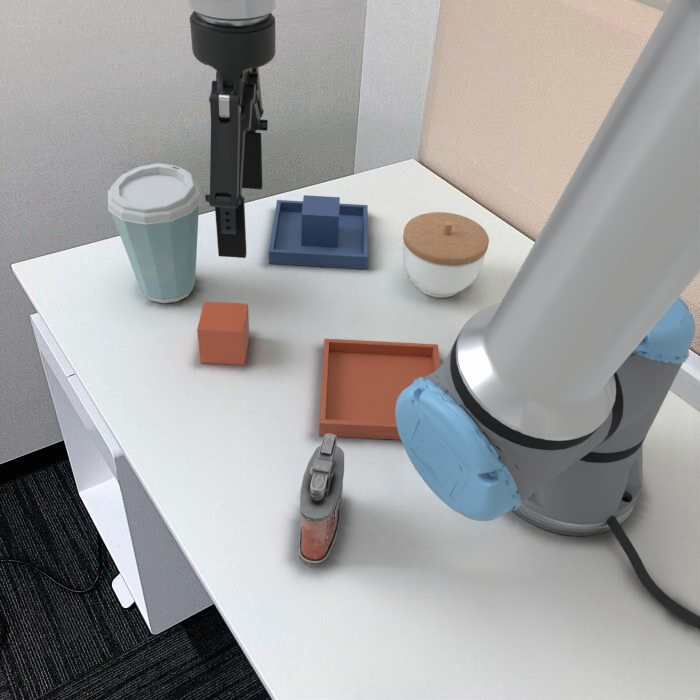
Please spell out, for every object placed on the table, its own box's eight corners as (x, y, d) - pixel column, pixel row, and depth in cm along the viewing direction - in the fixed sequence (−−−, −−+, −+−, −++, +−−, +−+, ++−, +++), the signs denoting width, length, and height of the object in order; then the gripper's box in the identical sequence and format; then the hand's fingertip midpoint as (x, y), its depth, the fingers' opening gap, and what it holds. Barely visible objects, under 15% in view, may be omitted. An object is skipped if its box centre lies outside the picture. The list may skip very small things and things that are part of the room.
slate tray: (367, 269, 99) (368, 256, 98) (268, 263, 99) (268, 251, 97) (366, 216, 109) (367, 204, 108) (277, 211, 109) (277, 199, 107)
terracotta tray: (445, 442, 77) (447, 429, 76) (318, 436, 77) (319, 423, 75) (435, 356, 87) (437, 344, 86) (323, 351, 87) (324, 338, 85)
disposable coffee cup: (172, 325, 88) (157, 217, 78) (104, 294, 92) (82, 187, 82) (226, 281, 95) (218, 177, 85) (161, 254, 99) (146, 151, 89)
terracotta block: (244, 365, 84) (242, 332, 81) (200, 363, 84) (196, 329, 81) (249, 336, 88) (248, 303, 84) (207, 334, 88) (204, 301, 84)
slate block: (337, 247, 102) (339, 216, 98) (301, 245, 102) (301, 214, 98) (338, 227, 105) (339, 197, 102) (303, 225, 105) (303, 195, 102)
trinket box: (482, 311, 94) (496, 250, 88) (398, 306, 94) (406, 244, 87) (474, 262, 102) (486, 203, 96) (396, 257, 102) (403, 198, 95)
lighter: (329, 570, 65) (334, 502, 58) (292, 563, 65) (293, 495, 59) (345, 497, 71) (352, 428, 64) (311, 491, 71) (314, 421, 65)
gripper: (213, -32, 74) (225, 161, 88) (158, 62, 56) (184, 286, 70) (288, -27, 74) (287, 165, 89) (257, 69, 56) (263, 291, 70)
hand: (242, 219), depth 79 cm, fingers open, 13 cm apart
